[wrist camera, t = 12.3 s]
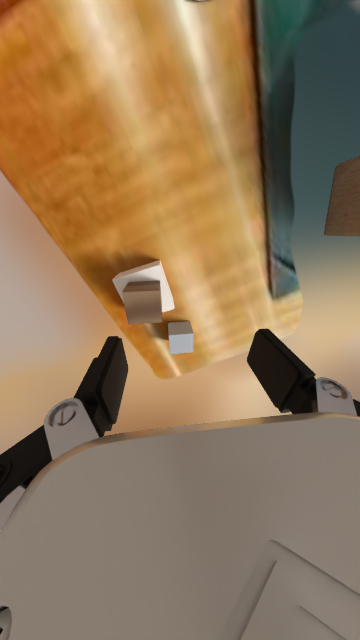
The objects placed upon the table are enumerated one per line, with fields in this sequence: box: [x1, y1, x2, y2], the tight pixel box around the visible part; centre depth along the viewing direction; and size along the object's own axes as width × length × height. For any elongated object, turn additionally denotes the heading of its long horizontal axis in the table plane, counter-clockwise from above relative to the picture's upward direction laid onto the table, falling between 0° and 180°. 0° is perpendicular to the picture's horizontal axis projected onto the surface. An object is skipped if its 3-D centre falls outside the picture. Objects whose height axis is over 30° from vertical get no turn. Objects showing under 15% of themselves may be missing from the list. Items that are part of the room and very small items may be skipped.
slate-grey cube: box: [168, 321, 193, 354], centre depth 34 cm, size 5×5×5 cm
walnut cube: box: [122, 281, 162, 324], centre depth 24 cm, size 5×5×5 cm
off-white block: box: [112, 260, 175, 312], centre depth 28 cm, size 8×8×5 cm
